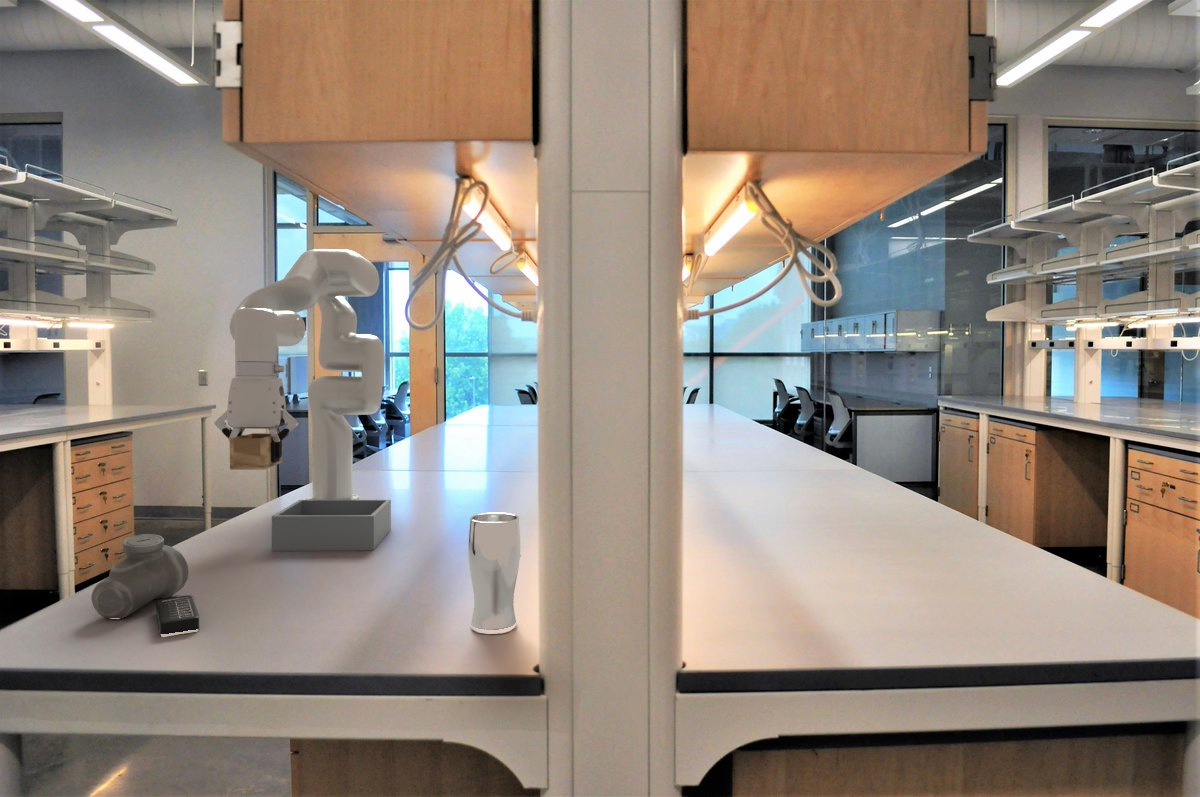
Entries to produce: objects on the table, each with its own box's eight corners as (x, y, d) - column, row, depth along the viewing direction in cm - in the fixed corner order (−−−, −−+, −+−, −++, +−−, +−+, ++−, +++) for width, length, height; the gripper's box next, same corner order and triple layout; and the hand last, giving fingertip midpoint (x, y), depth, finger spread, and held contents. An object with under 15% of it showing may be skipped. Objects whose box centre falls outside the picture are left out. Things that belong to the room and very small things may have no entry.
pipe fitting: (140, 589, 112) (139, 525, 111) (190, 596, 112) (190, 531, 110) (78, 626, 101) (76, 555, 99) (135, 633, 100) (134, 562, 98)
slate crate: (299, 530, 154) (299, 499, 154) (390, 530, 156) (390, 499, 156) (271, 550, 138) (271, 516, 138) (373, 550, 140) (373, 516, 139)
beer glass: (515, 637, 97) (517, 523, 96) (462, 635, 97) (463, 522, 96) (522, 618, 104) (523, 512, 103) (473, 617, 104) (473, 511, 103)
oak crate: (250, 462, 152) (249, 433, 151) (282, 462, 152) (282, 433, 152) (229, 469, 142) (229, 438, 141) (264, 469, 142) (264, 438, 142)
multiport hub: (160, 640, 94) (160, 623, 94) (156, 615, 104) (156, 599, 104) (199, 634, 97) (199, 617, 97) (192, 610, 106) (191, 594, 106)
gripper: (307, 371, 150) (307, 459, 151) (219, 370, 149) (219, 458, 150) (295, 372, 143) (295, 464, 144) (202, 370, 142) (203, 463, 142)
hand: (257, 460), depth 147 cm, fingers closed on oak crate, 6 cm apart
